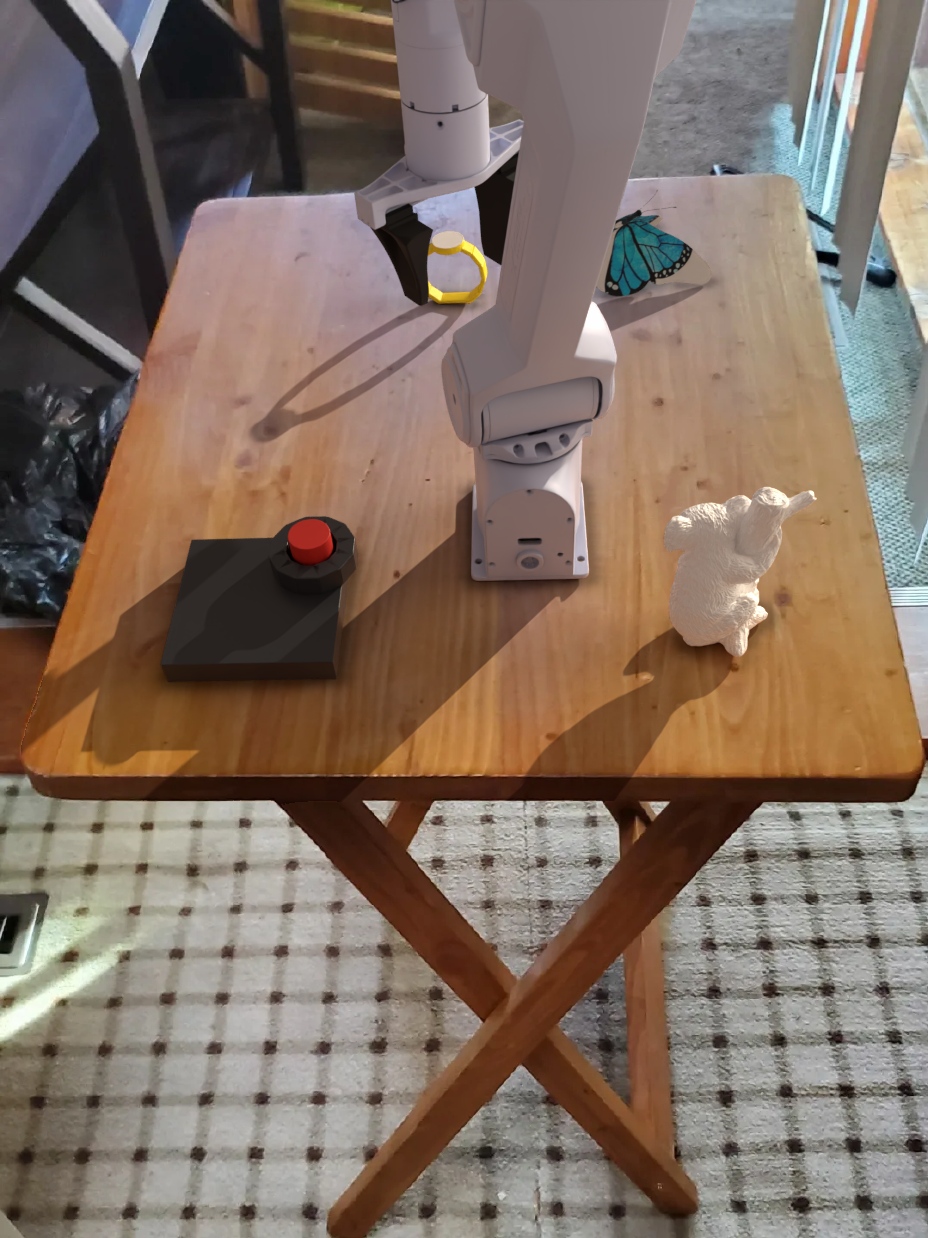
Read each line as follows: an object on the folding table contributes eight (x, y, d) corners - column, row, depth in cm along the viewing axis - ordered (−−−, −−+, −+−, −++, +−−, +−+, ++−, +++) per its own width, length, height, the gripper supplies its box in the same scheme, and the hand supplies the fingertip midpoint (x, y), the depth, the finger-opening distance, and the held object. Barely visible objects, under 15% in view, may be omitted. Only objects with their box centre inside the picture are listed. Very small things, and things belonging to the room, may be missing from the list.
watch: (489, 292, 96) (487, 231, 91) (485, 311, 94) (482, 249, 89) (423, 290, 96) (417, 229, 92) (417, 308, 95) (411, 246, 90)
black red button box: (350, 679, 69) (342, 645, 66) (168, 682, 70) (153, 649, 67) (363, 550, 76) (357, 515, 73) (198, 554, 77) (186, 519, 74)
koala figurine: (776, 590, 72) (810, 454, 62) (790, 671, 67) (830, 537, 58) (647, 590, 72) (663, 455, 63) (654, 670, 68) (672, 538, 59)
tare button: (331, 565, 71) (327, 548, 70) (289, 566, 71) (285, 549, 70) (335, 534, 73) (331, 518, 72) (294, 535, 73) (290, 519, 72)
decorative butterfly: (549, 215, 96) (649, 163, 96) (565, 273, 101) (660, 223, 101) (600, 273, 90) (707, 217, 90) (613, 331, 95) (714, 278, 95)
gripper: (490, 41, 75) (496, 221, 85) (317, 111, 69) (346, 294, 80) (558, 72, 71) (556, 257, 82) (382, 148, 66) (403, 336, 76)
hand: (456, 278), depth 81 cm, fingers open, 7 cm apart
